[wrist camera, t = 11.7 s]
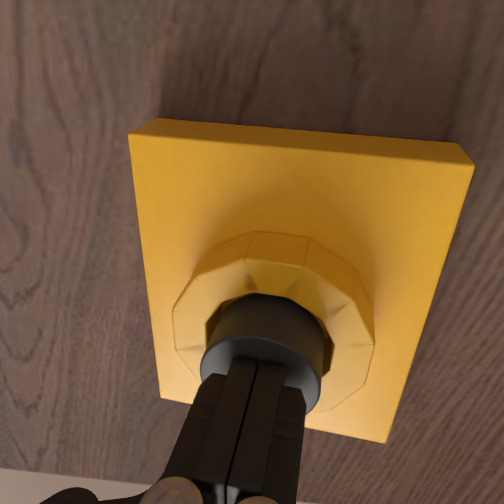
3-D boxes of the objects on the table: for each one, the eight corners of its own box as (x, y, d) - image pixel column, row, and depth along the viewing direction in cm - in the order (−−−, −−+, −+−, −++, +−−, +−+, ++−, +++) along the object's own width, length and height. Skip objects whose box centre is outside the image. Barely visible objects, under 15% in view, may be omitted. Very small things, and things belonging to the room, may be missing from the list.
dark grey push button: (318, 384, 14) (313, 435, 12) (218, 366, 15) (200, 412, 13) (331, 302, 12) (328, 349, 11) (217, 284, 13) (196, 326, 11)
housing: (383, 401, 19) (389, 487, 15) (177, 363, 20) (142, 432, 17) (458, 142, 13) (497, 189, 9) (156, 117, 14) (95, 149, 11)
